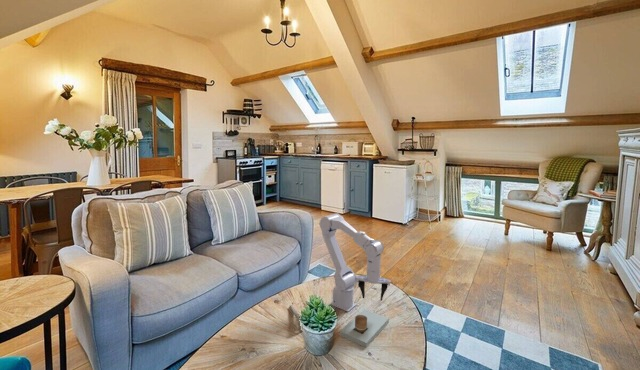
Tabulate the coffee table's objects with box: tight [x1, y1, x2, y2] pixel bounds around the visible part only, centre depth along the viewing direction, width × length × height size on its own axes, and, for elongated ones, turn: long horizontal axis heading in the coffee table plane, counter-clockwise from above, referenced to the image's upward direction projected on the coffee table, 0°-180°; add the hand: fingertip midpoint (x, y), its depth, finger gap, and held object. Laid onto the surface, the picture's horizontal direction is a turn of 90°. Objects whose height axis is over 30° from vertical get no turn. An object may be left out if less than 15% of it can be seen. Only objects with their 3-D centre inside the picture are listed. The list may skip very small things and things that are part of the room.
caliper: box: [289, 304, 303, 332], centre depth 137 cm, size 20×1×6 cm, turn 18°
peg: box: [354, 314, 367, 334], centre depth 126 cm, size 5×5×7 cm
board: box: [339, 308, 390, 348], centre depth 130 cm, size 12×20×2 cm, turn 143°
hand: (372, 298), depth 136 cm, fingers open, 7 cm apart
